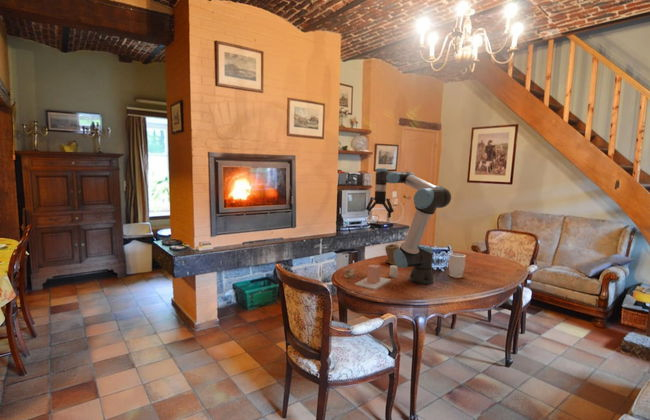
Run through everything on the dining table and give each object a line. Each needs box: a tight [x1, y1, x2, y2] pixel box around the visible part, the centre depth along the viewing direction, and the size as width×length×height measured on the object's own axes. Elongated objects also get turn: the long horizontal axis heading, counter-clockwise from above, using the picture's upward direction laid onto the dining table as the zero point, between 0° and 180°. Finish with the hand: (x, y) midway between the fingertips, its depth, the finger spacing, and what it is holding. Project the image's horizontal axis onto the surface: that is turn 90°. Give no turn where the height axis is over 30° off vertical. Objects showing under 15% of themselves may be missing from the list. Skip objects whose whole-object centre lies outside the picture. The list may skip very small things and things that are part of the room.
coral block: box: [366, 263, 382, 284], centre depth 227 cm, size 6×6×10 cm
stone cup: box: [385, 244, 400, 266], centre depth 271 cm, size 15×12×15 cm
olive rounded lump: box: [343, 268, 356, 279], centre depth 238 cm, size 5×5×5 cm
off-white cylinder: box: [389, 264, 399, 279], centre depth 242 cm, size 5×5×7 cm
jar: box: [448, 252, 467, 279], centre depth 247 cm, size 11×10×15 cm
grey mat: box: [354, 276, 392, 291], centre depth 228 cm, size 14×22×1 cm, turn 145°
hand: (378, 221), depth 253 cm, fingers open, 13 cm apart
